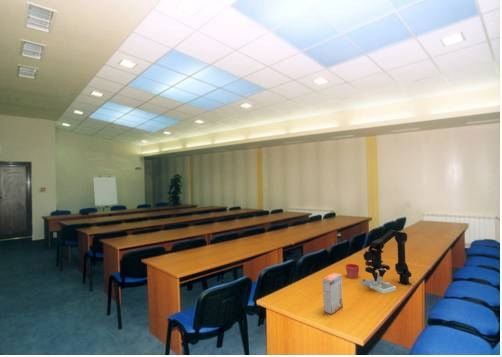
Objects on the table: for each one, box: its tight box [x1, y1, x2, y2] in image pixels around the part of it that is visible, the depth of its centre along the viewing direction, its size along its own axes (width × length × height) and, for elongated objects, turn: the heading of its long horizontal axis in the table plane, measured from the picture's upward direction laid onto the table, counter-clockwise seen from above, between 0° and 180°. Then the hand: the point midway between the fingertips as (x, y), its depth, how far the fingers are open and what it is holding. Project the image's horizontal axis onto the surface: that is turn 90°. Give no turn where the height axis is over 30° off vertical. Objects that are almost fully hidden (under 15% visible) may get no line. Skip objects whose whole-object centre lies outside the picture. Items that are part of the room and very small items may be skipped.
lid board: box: [358, 278, 376, 287], centre depth 209 cm, size 14×11×1 cm
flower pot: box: [345, 263, 360, 279], centre depth 222 cm, size 11×11×10 cm
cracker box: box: [321, 272, 344, 315], centre depth 168 cm, size 14×6×21 cm, turn 134°
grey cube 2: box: [373, 274, 383, 283], centre depth 197 cm, size 4×4×4 cm
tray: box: [369, 282, 397, 294], centre depth 196 cm, size 12×12×3 cm
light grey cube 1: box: [382, 281, 391, 289], centre depth 195 cm, size 4×4×4 cm
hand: (378, 280), depth 196 cm, fingers closed on grey cube 2, 5 cm apart
